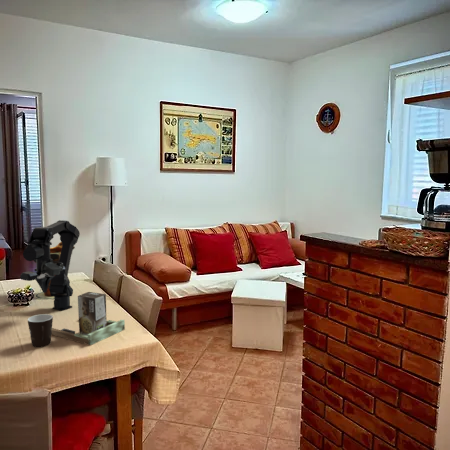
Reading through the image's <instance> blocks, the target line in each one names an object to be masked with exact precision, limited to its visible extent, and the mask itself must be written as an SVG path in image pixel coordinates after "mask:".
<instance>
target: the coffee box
mask: <svg viewBox="0 0 450 450" xmlns="http://www.w3.org/2000/svg"><path fill="white" fill-rule="evenodd" d="M77 312H78V329H79V330H78V331H79V332H78V333H79V334H82V335H86V336H88V334H89V333H92V332H94V331H96V330H99V329H101V328H103V327H106V326H107V321H108V320H107V295H106V294H105V293H101V292H100V293H99V292H93V291H87V292H85V293H82V294H79V295H77Z"/></svg>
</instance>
